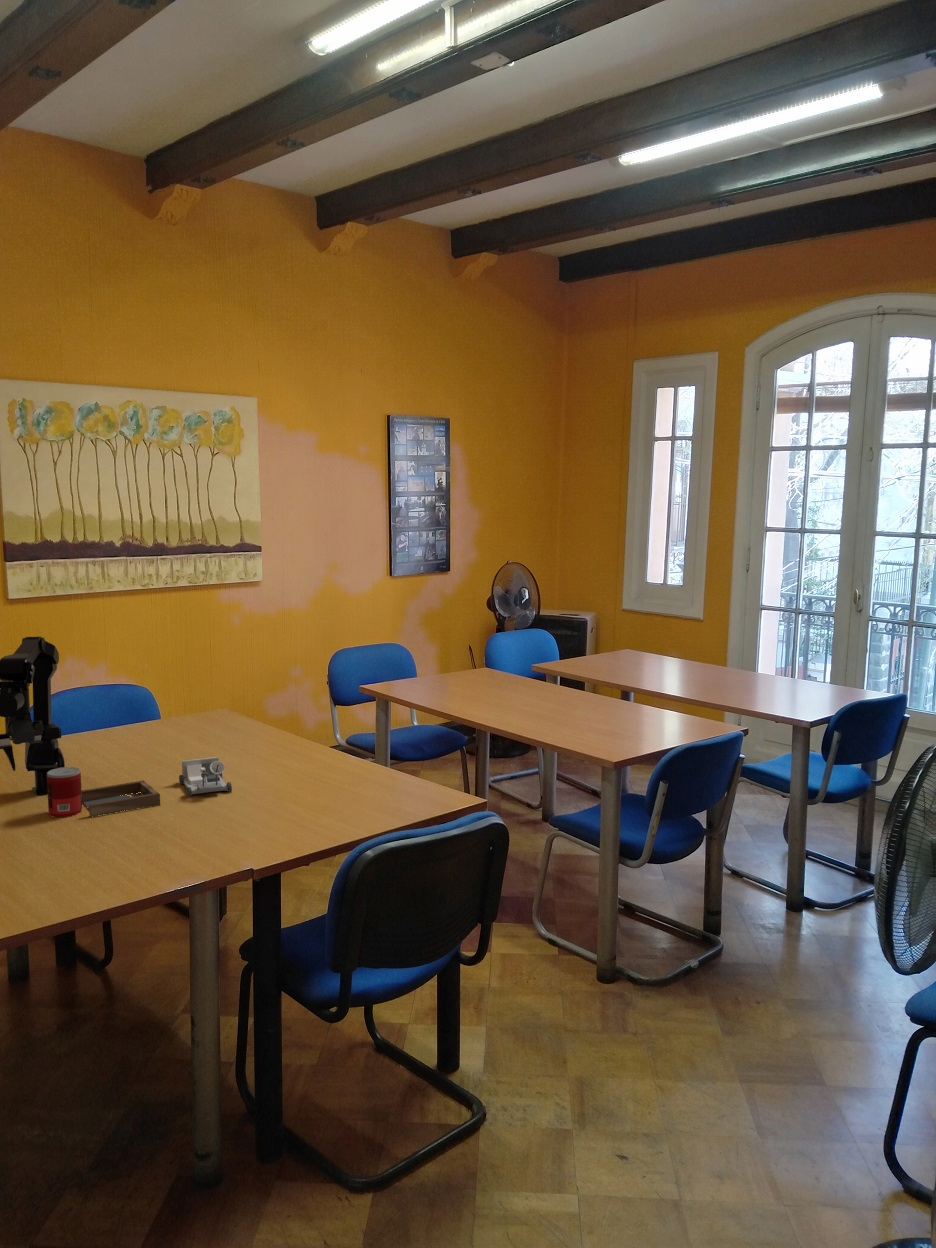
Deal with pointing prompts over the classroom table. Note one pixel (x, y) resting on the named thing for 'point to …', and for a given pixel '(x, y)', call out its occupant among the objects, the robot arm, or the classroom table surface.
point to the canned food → (64, 791)
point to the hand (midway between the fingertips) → (20, 769)
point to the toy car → (203, 776)
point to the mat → (109, 799)
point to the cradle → (145, 800)
